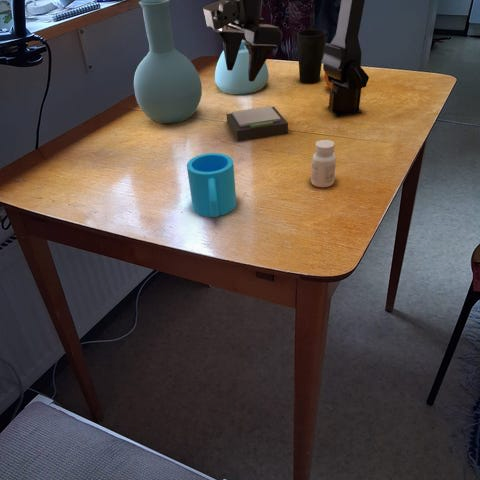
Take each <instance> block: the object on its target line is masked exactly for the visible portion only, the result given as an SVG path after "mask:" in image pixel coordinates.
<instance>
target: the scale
mask: <svg viewBox="0 0 480 480" xmlns="http://www.w3.org/2000/svg"><path fill="white" fill-rule="evenodd" d="M225 117H226V125H227V126H228V128H229V130H230V132H231V134H232V135H233V136H234V138H235V140H236V141H237V142H244V141H251V140H256V139H261V138H268V137H269V138H270V137H274V136H280V135H281V136H282V135H287V134H289V122H288V121H287V120H286V118H284V116H283V115H282V114H281V113H280V112H279V110H278V109H277V108H276V107H275V106H271V105H266V106H260V107H252V108H247V109H240V110H239V109H238V110H233V111H231V113H226V114H225Z"/></svg>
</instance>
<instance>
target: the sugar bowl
mask: <svg viewBox="0 0 480 480" xmlns="http://www.w3.org/2000/svg"><path fill="white" fill-rule="evenodd" d="M244 42H246V39H242V42H241V45H240V49H239V52H238V55H237V58H236V61H235V64H234V67H233V70H231V71H229V70H227V66H226V60H225V55H224V49H223V50H222V52H221V53H220V56H219V59H218V61H217V63H216V67H215V71H214V83H215V85H216V86H217V87H218V89H220V90H221V92H223V93H225V94H230V95H246V94H247V95H248V94H253V93H256V92H259V91H261V90H262V89H263V88H264V87H265V86H266V84H267V83H268V82H269V78H270V77H269V76H270V75H269V69H268V65H267V63H266V61H265V63H264V65H263V66H262V68H261V70H260V72H259V73H258V75H257V77H256V78H255V80H254V81H249V77H248V67H249V51H248V50H247V48H246V46H245V45H244Z"/></svg>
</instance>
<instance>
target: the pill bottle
mask: <svg viewBox="0 0 480 480" xmlns="http://www.w3.org/2000/svg"><path fill="white" fill-rule="evenodd" d="M335 146H336V145H335V142H334V141H332V140H330V139H321V140H317V141H316V142H315V147H314V151H315V152H314V153H313V155H312V158H311V176H310V177H311V178H310V180H311V184H312V185H313V186H315V187H317V188H328V187H331V186H332V185H333V184H334V183H335V177H336V176H335V175H336V163H337V155H336V154H335V153H334V152H335Z"/></svg>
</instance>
